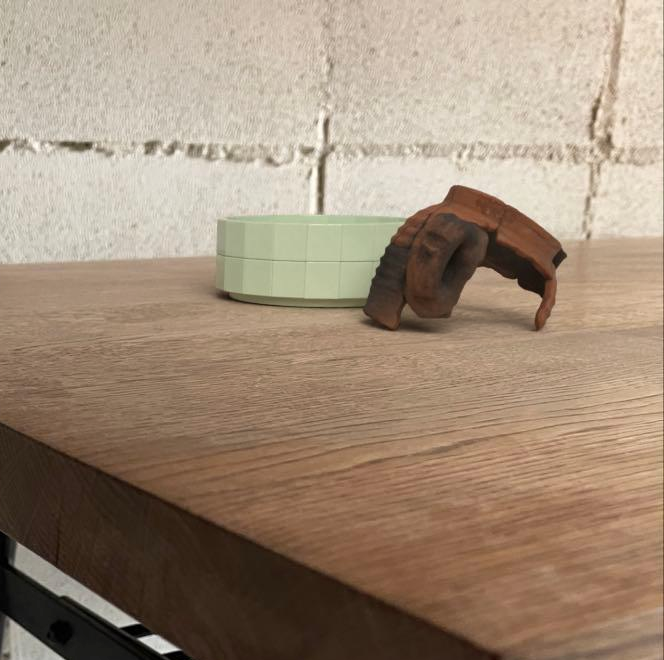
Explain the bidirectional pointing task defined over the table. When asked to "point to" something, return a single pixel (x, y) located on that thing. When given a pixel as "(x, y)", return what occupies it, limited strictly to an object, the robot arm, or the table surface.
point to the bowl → (301, 258)
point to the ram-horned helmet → (462, 257)
